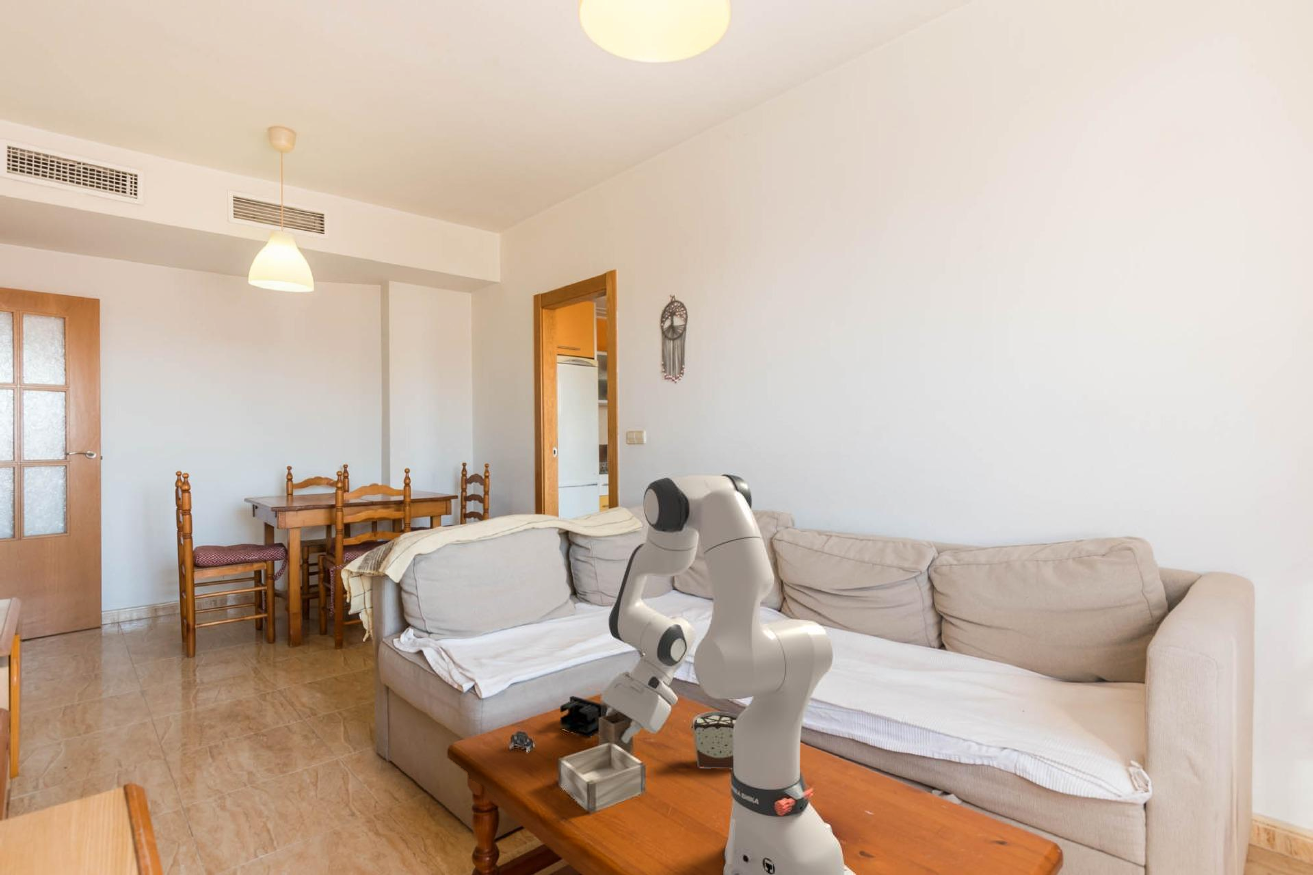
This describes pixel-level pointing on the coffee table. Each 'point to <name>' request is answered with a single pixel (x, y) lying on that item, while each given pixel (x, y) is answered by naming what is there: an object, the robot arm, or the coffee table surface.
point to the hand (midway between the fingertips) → (613, 735)
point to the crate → (601, 776)
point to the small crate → (615, 730)
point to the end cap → (582, 716)
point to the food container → (714, 739)
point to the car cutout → (521, 741)
